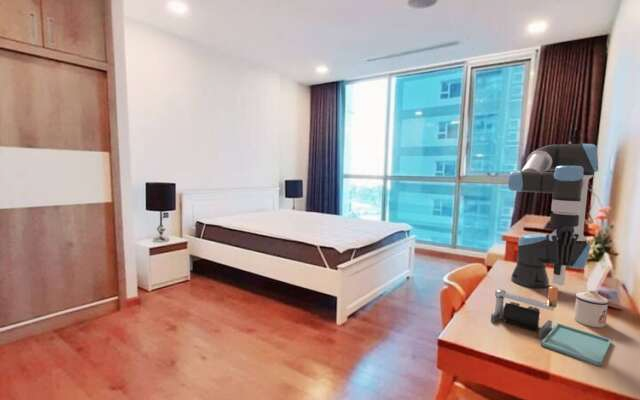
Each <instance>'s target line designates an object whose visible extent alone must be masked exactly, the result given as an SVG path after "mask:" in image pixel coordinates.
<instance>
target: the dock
mask: <svg viewBox="0 0 640 400" xmlns="http://www.w3.org/2000/svg"><path fill="white" fill-rule="evenodd" d="M504 299H505V298H499V297H496V296H495V305H494V306H495V307H494V312H493V313H492V314H491V317H490V323H495V322H497V321H498V320H502V319H503V312H504V307H505V306H504ZM552 323H553V321H552V320H550V319H548V320H546V321H545V323H544V324H543V325H542V326H541V327H540V328H538V333H537V334H538V335H537V338H538V339H541V340H543V339H544V338H545V337H546V336H547V335H548V333H549V332H550V331H551V330H552Z"/></svg>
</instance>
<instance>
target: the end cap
mask: <svg viewBox="0 0 640 400" xmlns="http://www.w3.org/2000/svg"><path fill="white" fill-rule="evenodd" d="M503 307H504V312H503V316H502V319H503V320H504V321H505V322H506V323H508V324H513V325H515V326H519V327H521V328H522V327H523V328H525V329H526V328H527V329H530V330H534V331H537V330H539V324H540V314H541V312H540V309H539V307H535V306H531V305H529V306H528V307H524V306H521V305H520V303H518V302H513V301H510V302H509V303H508V302H506V303H505V304H504V306H503Z"/></svg>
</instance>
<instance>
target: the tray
mask: <svg viewBox="0 0 640 400" xmlns="http://www.w3.org/2000/svg"><path fill="white" fill-rule="evenodd" d="M611 344H612V339H611V338H608V337H605V336H601V335H598V334H595V333H591V332H589V331H585V330H581V329H579V328H574V327H571V326H568V325H565V324H562V323H556V324H555V325H554V326H553V328H551V329H550V330H549V331H548V332H547V334H546V335H545V336H544V337H543V338H542V339H541V342H540V346H541V347H544V348H545V349H549V350H551V351H555V352H558V353H560V354H563V355H566V356H569V357H572V358H575V359H577V360H581V361H583V362H585V363H588V364H592V365H595V366H598V367H600V368H601V366H602V364H603V362H604V360H605V358H606V355H607V353H608V351H609V349H610V347H611Z"/></svg>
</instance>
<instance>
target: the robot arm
mask: <svg viewBox="0 0 640 400" xmlns="http://www.w3.org/2000/svg"><path fill="white" fill-rule="evenodd" d="M594 172H595V173H597V172H599V156H598V147H597V145H595V144H594V143H567V144H566V143H565V144H549V145H545V146H542V147H539V148H537V149H535V150H533V151H532V152H531V153H530V154H528V156H527V158H526V164H524V166H523V168H522V169H521V170H514V171H511V172H509V175H508V180H507V181H508V183H507V186H508V189H509V190H510V191H513V192H519V193H520V192H521V193H522V192H523V193H524V192H525V193H541V194H542V193H543V194H552V197H551V198H552V199H551V201H552V202H551V212H552V213H550V216H549V217H550V218H549V224H550V225H553V228H552V230H551V234H544V233H527V234H521V235H520V236H519V238H518V243H517V254H516V255H517V256H516V265H515V267H514V269H513V271H512V273H511V278H510V280H511V281H512V282H513V283H515V284H517V285H520V286H523V287H528V288H533V289H534V288H535V289H545V288H549V286H550V279H549V277H548V273H547V270H546V269H547V264H548V265H553V275H552V283H553V284H555V285H557V286H558V285H559V286H564V285H565V277H566V269H567V268H569V269H578V270H583V269H584V268H585V267H586V265H587V261H588V257H589V255H590V251H591V246H592V244H591V243H590V242H588V238H587V237H586V236H585V235H584V230H585V229H584V228H585V222H586V221H585V218H586V207H587V200H588V189H589V181H590V179H591V178H593V177H594V175H595V174H594Z"/></svg>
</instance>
